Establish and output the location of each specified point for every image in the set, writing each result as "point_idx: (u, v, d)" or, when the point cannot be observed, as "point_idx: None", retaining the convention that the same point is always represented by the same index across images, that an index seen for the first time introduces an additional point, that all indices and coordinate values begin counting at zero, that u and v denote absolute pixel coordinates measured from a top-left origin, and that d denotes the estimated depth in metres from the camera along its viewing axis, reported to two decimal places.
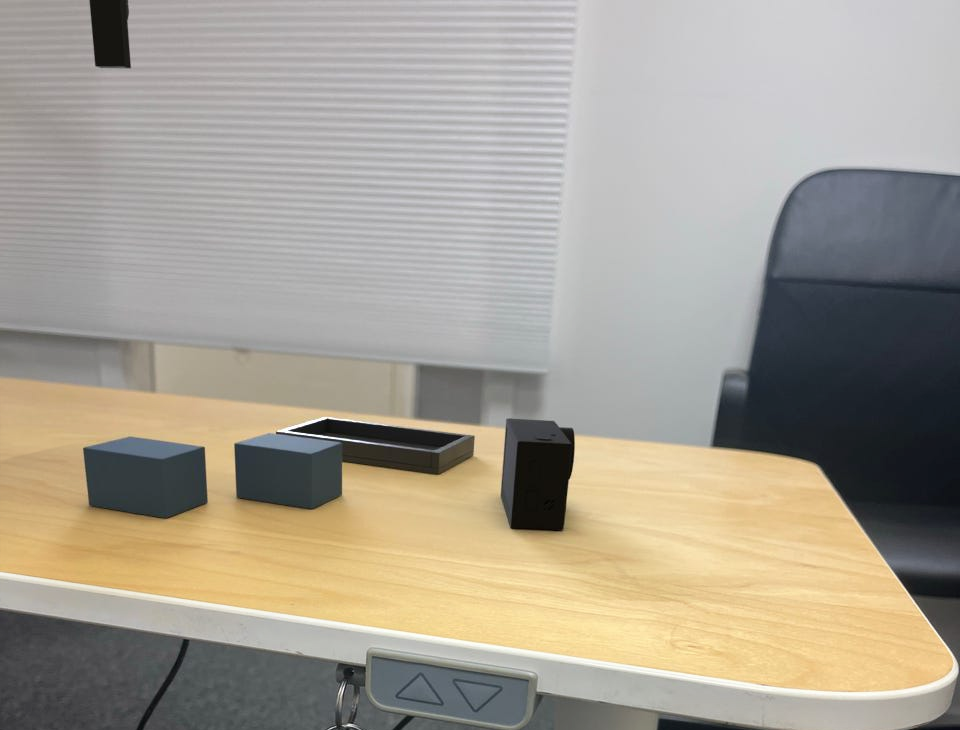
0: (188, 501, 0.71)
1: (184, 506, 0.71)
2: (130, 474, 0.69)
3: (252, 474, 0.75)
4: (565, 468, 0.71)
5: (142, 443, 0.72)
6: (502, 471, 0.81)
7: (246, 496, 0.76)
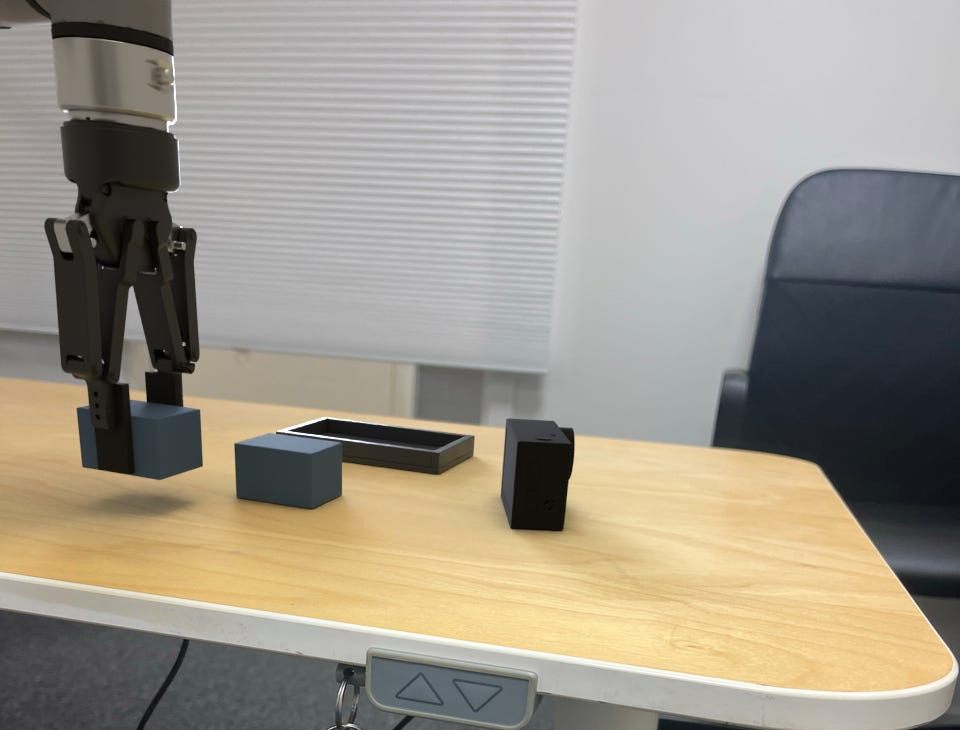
0: (183, 464, 0.70)
1: (179, 469, 0.70)
2: None
3: (252, 474, 0.75)
4: (565, 468, 0.71)
5: (137, 405, 0.71)
6: (502, 471, 0.81)
7: (246, 496, 0.76)
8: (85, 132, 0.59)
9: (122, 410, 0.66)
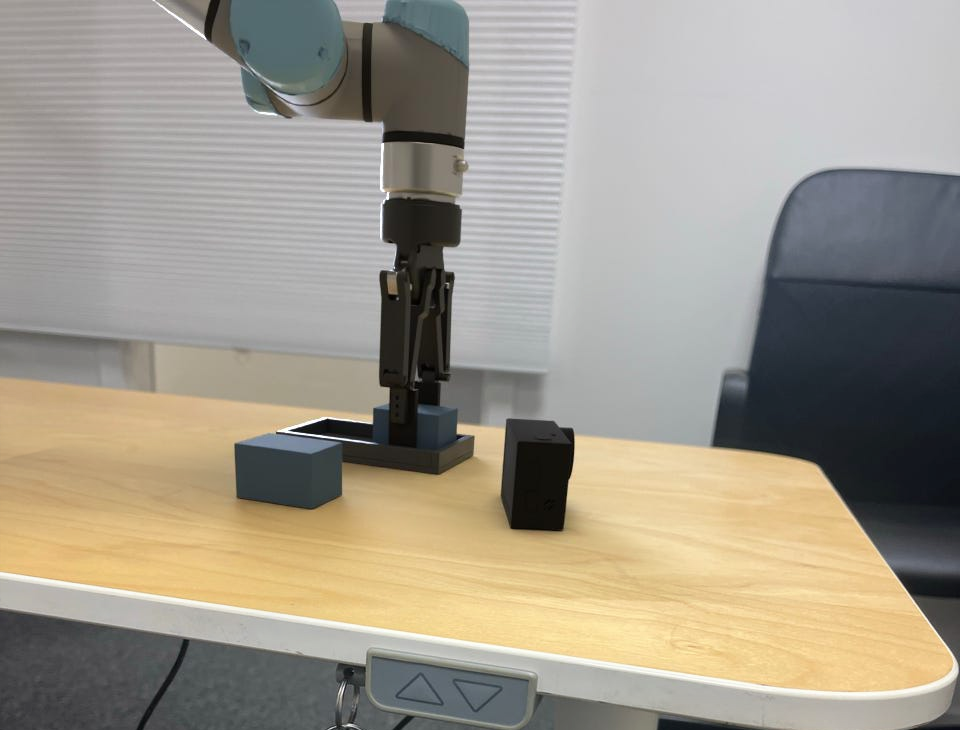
0: None
1: None
2: None
3: (252, 474, 0.75)
4: (565, 468, 0.71)
5: None
6: (502, 471, 0.81)
7: (246, 496, 0.76)
8: (407, 208, 0.82)
9: (413, 409, 0.89)
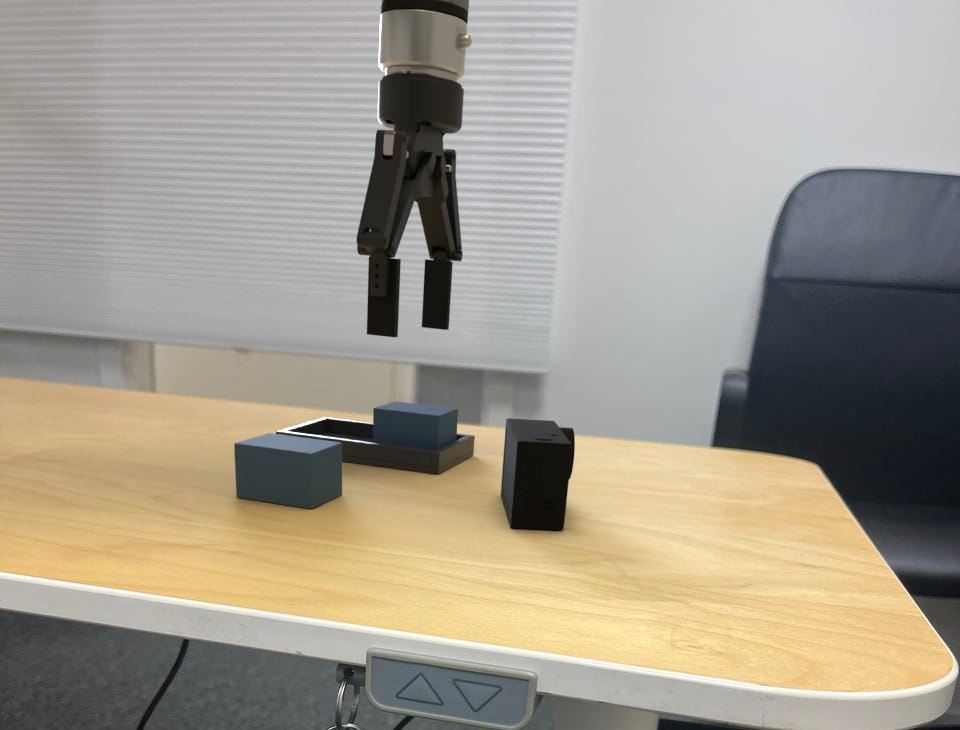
0: None
1: None
2: (411, 428, 0.90)
3: (252, 474, 0.75)
4: (565, 468, 0.71)
5: (411, 405, 0.93)
6: (502, 471, 0.81)
7: (246, 496, 0.76)
8: (407, 82, 0.78)
9: (395, 281, 0.80)
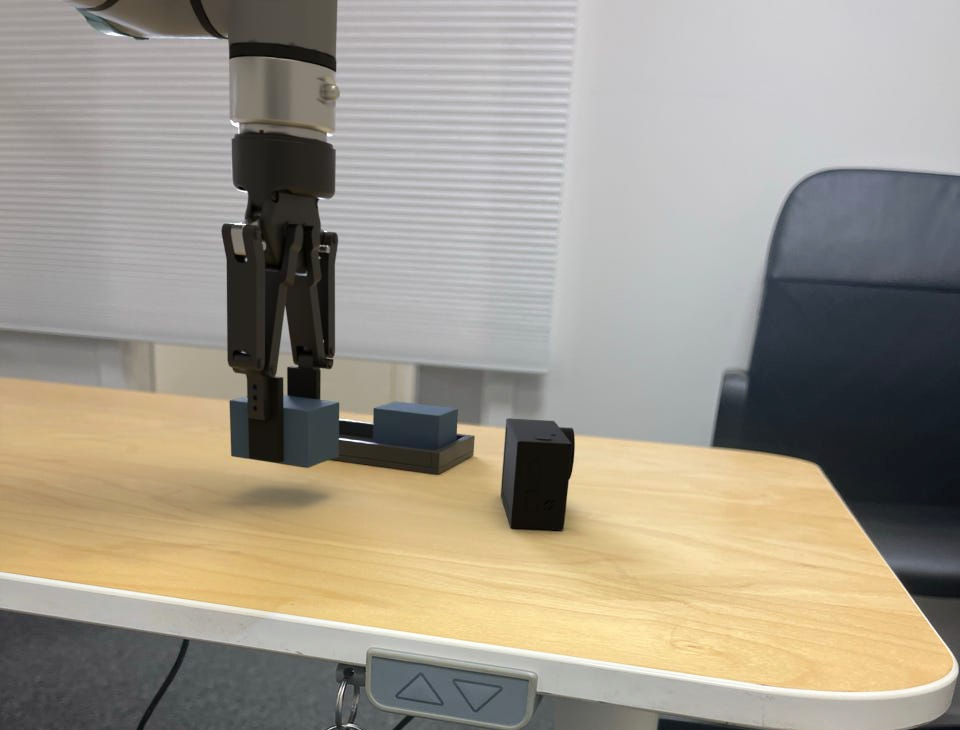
0: None
1: None
2: (411, 428, 0.90)
3: (247, 432, 0.73)
4: (565, 468, 0.71)
5: (411, 405, 0.93)
6: (502, 471, 0.81)
7: (241, 455, 0.74)
8: (259, 144, 0.64)
9: (277, 402, 0.71)
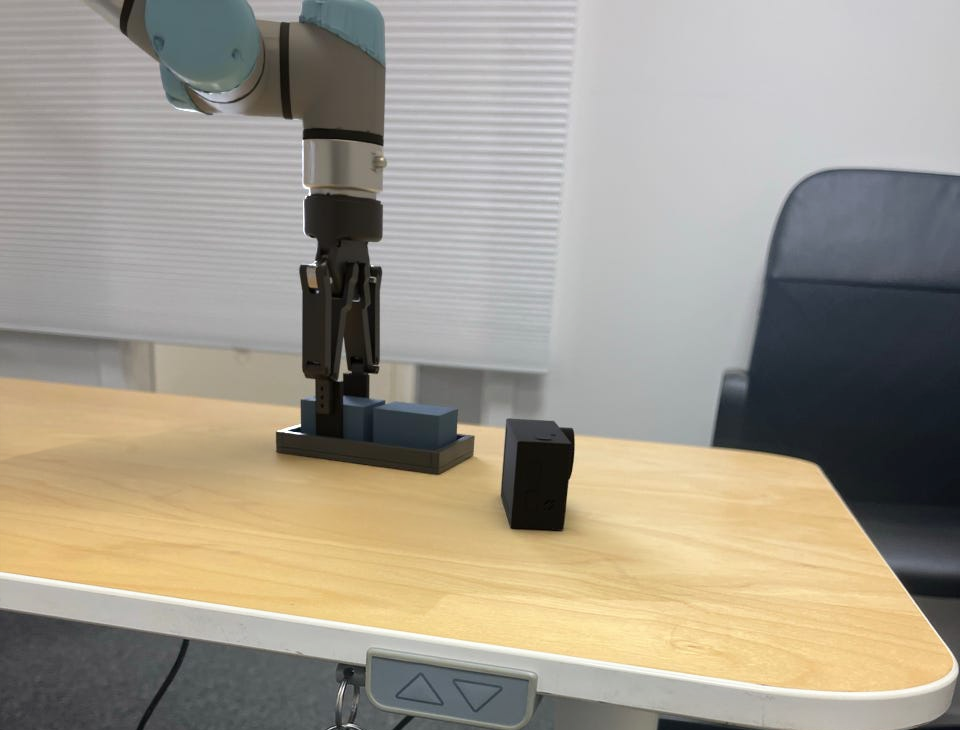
0: None
1: None
2: (411, 428, 0.90)
3: (315, 424, 0.93)
4: (565, 468, 0.71)
5: (411, 405, 0.93)
6: (502, 471, 0.81)
7: None
8: (327, 203, 0.84)
9: (338, 400, 0.91)
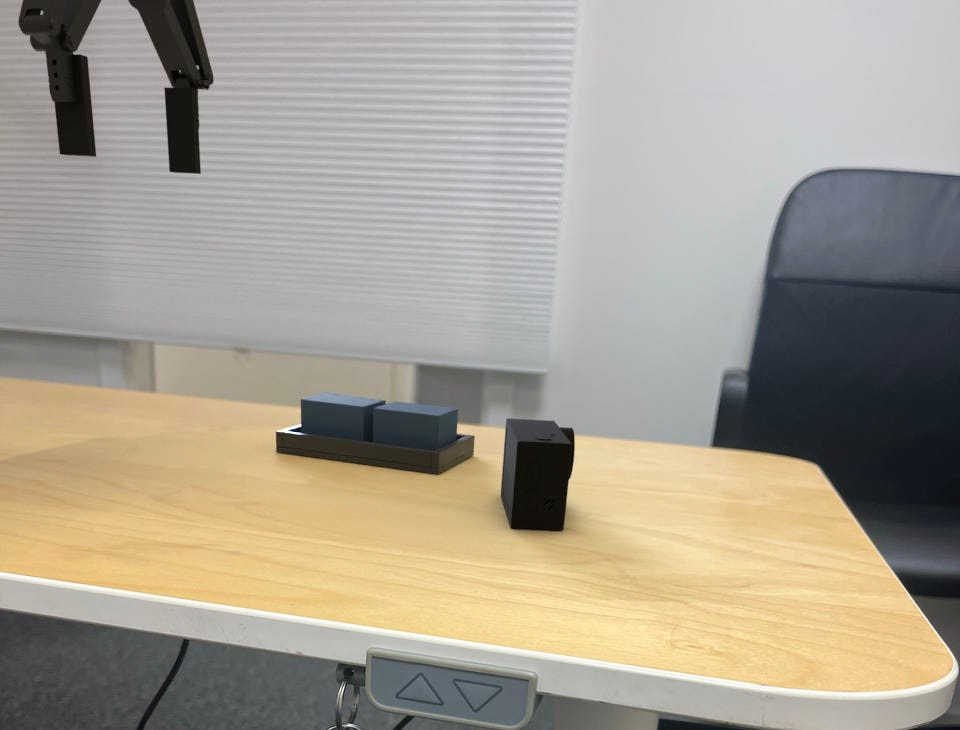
0: None
1: None
2: (411, 428, 0.90)
3: (315, 424, 0.93)
4: (565, 468, 0.71)
5: (411, 405, 0.93)
6: (502, 471, 0.81)
7: None
8: None
9: (81, 83, 0.67)
